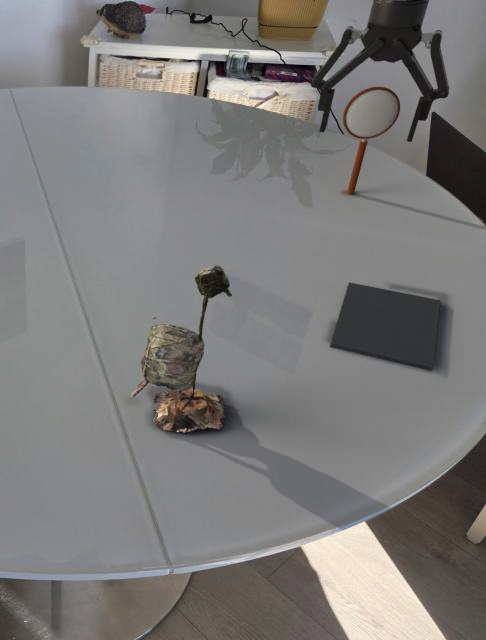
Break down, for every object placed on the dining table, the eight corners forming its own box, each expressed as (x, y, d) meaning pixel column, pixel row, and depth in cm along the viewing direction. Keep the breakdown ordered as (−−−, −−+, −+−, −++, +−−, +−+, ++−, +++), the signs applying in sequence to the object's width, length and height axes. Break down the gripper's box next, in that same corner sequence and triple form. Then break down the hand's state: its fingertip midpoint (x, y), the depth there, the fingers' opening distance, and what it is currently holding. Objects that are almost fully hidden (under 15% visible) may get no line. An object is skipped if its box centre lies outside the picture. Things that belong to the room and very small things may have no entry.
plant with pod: (142, 380, 83) (149, 246, 70) (232, 400, 79) (256, 261, 66) (124, 423, 77) (127, 284, 65) (219, 447, 73) (243, 304, 61)
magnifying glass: (324, 201, 117) (350, 89, 104) (322, 197, 118) (348, 85, 105) (375, 201, 115) (408, 88, 103) (373, 197, 116) (405, 84, 104)
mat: (439, 303, 91) (440, 300, 90) (431, 371, 80) (433, 367, 80) (348, 285, 96) (348, 282, 95) (329, 346, 85) (330, 343, 85)
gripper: (309, -2, 98) (284, 133, 112) (500, 3, 88) (447, 151, 101) (318, -12, 103) (293, 118, 117) (500, -9, 93) (450, 134, 106)
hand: (365, 134), depth 109 cm, fingers open, 13 cm apart
